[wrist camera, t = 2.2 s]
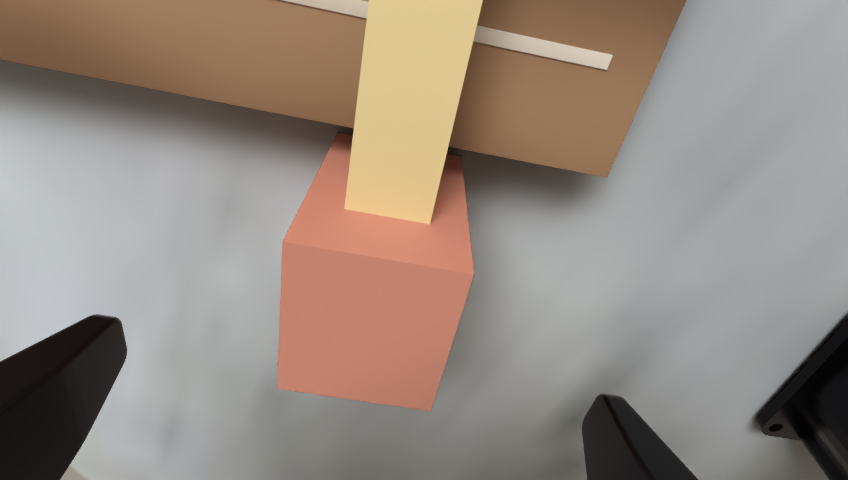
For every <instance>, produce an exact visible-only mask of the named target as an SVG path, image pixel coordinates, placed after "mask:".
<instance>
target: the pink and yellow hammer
mask: <svg viewBox="0 0 848 480" xmlns="http://www.w3.org/2000/svg"><path fill="white" fill-rule="evenodd" d="M482 2H483V0H369V4H368V12H367V21H366V29H365V38H364V46H363V55H362V63H361V71H360V80H359V88H358V97H357V105H356V114H355V122H354V131H353V136H352V135H347V134H341V133H337V135H336V137H335V139H334V141H333V143H332V145H331V147H330V149H329V151H328V153H327V155H326V157H325V159H324V161H323V163H322V165H321V167H320V169H319V171H318V173H317V175H316V177H315V179H314V181H313V183H312V185H311V186H310V188H309V190H308V192H307V194H306V196H305V198H304V200H303V202H302V204H301V206H300V208H299V210H298V212H297V214H296V216H295V218H294V220H293V222H292V224H291V226H290V228H289V230H288V232H287V234H286V236H285V238H284V240H283V246H282V272H281V298H280V325H279V351H278V377H277V389H283V390H290V391H297V392H304V393H310V394H317V395H324V396H331V397H338V398H344V399H351V400H358V401H365V402H372V403H378V404H385V405H392V406H399V407H406V408H413V409H419V410H426V411H431V409H432V406H433V403H434V399H435V396H436V393H437V390H438V387H439V384H440V381H441V377H442V374H443V371H444V368H445V365H446V362H447V358H448V355H449V352H450V349H451V346H452V343H453V340H454V336H455V333H456V330H457V327H458V324H459V321H460V317H461V314H462V311H463V308H464V305H465V302H466V298H467V295H468V292H469V289H470V286H471V283H472V280H473V276H474V269H473V260H472V250H471V241H470V231H469V222H468V213H467V203H466V194H465V185H464V175H463V166H462V157H460V156H455V155H450V154H447V150H448V146H449V142H450V137H451V133H452V129H453V125H454V120H455V116H456V112H457V108H458V103H459V99H460V95H461V91H462V86H463V82H464V78H465V74H466V70H467V65H468V61H469V57H470V53H471V48H472V44H473V40H474V36H475V31H476V27H477V23H478V19H479V14H480V10H481V6H482Z"/></svg>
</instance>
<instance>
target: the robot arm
mask: <svg viewBox="0 0 848 480" xmlns="http://www.w3.org/2000/svg"><path fill="white" fill-rule="evenodd" d="M126 355H127V346H126V342H125V337H124V332H123V327H122V323H121V321H120V320H119V319H118V318H116V317H112V316H105V315H98V314H96V315H91V316H89V317H87V318H85V319H83V320H81V321H79V322H77V323H75V324H73V325H71V326H69V327H67V328H65V329H63V330H61V331H59V332H57V333H55V334H53V335H51V336H49V337H48V338H46V339H44V340H42V341H40V342H38V343H36V344H34V345H32V346H30V347H28V348H26V349H24V350H22V351H20V352H18V353H16V354H14V355H12V356H10V357H8V358H6V359H4V360H2V361H0V480H60V479H61V478H62V476H63V474H64V473H65V471H66V470H67V468H68V467H69V465H70V463H71V462H72V460H73V459H74V457H75V456H76V454H77V452H78V451H79V449H80V447H81V446H82V444H83V443H84V441H85V439H86V437H87V435H88V433H89V432H90V430H91V428H92V426H93V424H94V422H95V420H96V418H97V416H98V414H99V412H100V410H101V408H102V406H103V404H104V402H105V400H106V398H107V396H108V394H109V392H110V390H111V388H112V386H113V384H114V382H115V380H116V378H117V376H118V374H119V372H120V370H121V368H122V366H123V364H124V362H125V359H126ZM756 423H757V425H758V426H759V428H760V429H761V431H762V432H763V433H764V434H765V435H769V436H775V437H782V438H789V439H795V440H801V441H802V442H803V444H804V445H805V447H806V448H807V449H808V451H809V452H810V454H811V455H812V456H813V458H814V459H815V461H816V462H817V463H818V465H819V466H820V467H821V469H822V470H823V472H824V473H825V474H826V476H827V477H828V479H829V480H848V319H847V320H846V321H845V323H844V324H843V325H842V326H841V327H840V328H839V329H838V330H837V331H836V332H835V334H834V335H833V336H832V337H831V338H830V339H829V340H828V341H827V342H826V343H825V344H824V346H823V347H822V348H821V349H820V350H819V351H818V352H817V353H816V354H815V355H814V356H813V358H812V359H811V360H810V361H809V362H808V363H807V364H806V365H805V366H804V367H803V368H802V370H801V371H800V372H799V373H798V374H797V375H796V376H795V377H794V378H793V379H792V380H791V382H790V383H789V384H788V385H787V386H786V387H785V388H784V389H783V390H782V391H781V393H780V394H779V395H778V396H777V397H776V398H775V399H774V400H773V401H772V402H771V403H770V405H769V406H768V407H767V408H766V409H765V410H764V411H763V412H762V413H761V414H760V415H759V417H758V418H757V420H756ZM582 435H583V444H584V453H585V463H586V472H587V480H698V479H697V478H696V477H695V476H694V475H693V473H692V472H691V471H690V470H689V469H688V468H687V467H686V466H685V465H684V464H683V463H682V461H681V460H680V459H679V458H678V457H677V456H676V455H675V454H674V453H673V452H672V451H671V449H670V448H669V447H668V446H667V445H666V444H665V443H664V442H663V441H662V440H661V439H660V438H659V436H658V435H657V434H656V433H655V432H654V431H653V430H652V429H651V428H650V427H649V426H648V424H647V423H646V422H645V421H644V420H643V419H642V418H641V417H640V416H639V415H638V414H637V412H636V411H635V410H634V409H633V408H632V407H631V406H630V405H629V404H628V403H627V402H626V401H625V400H624V399H623V398H622V397H620V396H617V395H610V394H604V393H603V394H600V395H598V396H597V397H596V399H595V401H594V402H593V404H592V406H591V407H590V409H589V411H588V412H587V414H586V416H585V417H584V420H583V424H582Z"/></svg>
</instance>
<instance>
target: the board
mask: <svg viewBox="0 0 848 480" xmlns="http://www.w3.org/2000/svg"><path fill="white" fill-rule="evenodd" d="M685 2H686V0H483V2H482V6H481V10H480V14H479V19H478V23H477V27H476V31H475V36H474V40H473V44H472V48H471V53H470V57H469V61H468V65H467V70H466V74H465V78H464V82H463V86H462V91H461V95H460V99H459V103H458V108H457V112H456V116H455V120H454V125H453V129H452V133H451V137H450V142H449V146H448V147H452V148H458V149H463V150H468V151H473V152H478V153H483V154H488V155H493V156H499V157H504V158H509V159H514V160H519V161H524V162H529V163H535V164H540V165H545V166H550V167H555V168H560V169H565V170H571V171H576V172H581V173H586V174H591V175H596V176H601V177H608V174H609V172H610V170H611V168H612V165H613V163H614V161H615V159H616V156H617V154H618V152H619V150H620V147H621V145H622V143H623V141H624V138H625V136H626V134H627V132H628V129H629V127H630V125H631V123H632V121H633V118H634V116H635V114H636V112H637V109H638V107H639V105H640V103H641V100H642V98H643V96H644V94H645V91H646V89H647V87H648V85H649V82H650V80H651V78H652V76H653V73H654V71H655V69H656V67H657V64H658V62H659V60H660V58H661V56H662V53H663V51H664V49H665V47H666V44H667V42H668V40H669V38H670V35H671V33H672V31H673V29H674V26H675V24H676V22H677V20H678V17H679V15H680V13H681V11H682V8H683V6H684V4H685ZM368 4H369V0H0V60H5V61H11V62H16V63H21V64H26V65H31V66H36V67H41V68H47V69H52V70H57V71H62V72H67V73H72V74H77V75H83V76H88V77H93V78H98V79H103V80H108V81H113V82H118V83H124V84H129V85H134V86H139V87H144V88H149V89H154V90H160V91H165V92H170V93H175V94H180V95H185V96H190V97H196V98H201V99H206V100H211V101H216V102H221V103H226V104H231V105H237V106H242V107H247V108H252V109H257V110H262V111H267V112H273V113H278V114H283V115H288V116H293V117H298V118H303V119H309V120H314V121H319V122H324V123H329V124H334V125H339V126H345V127H350V128H354V122H355V114H356V105H357V97H358V88H359V80H360V71H361V63H362V55H363V46H364V38H365V29H366V21H367V12H368Z"/></svg>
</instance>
